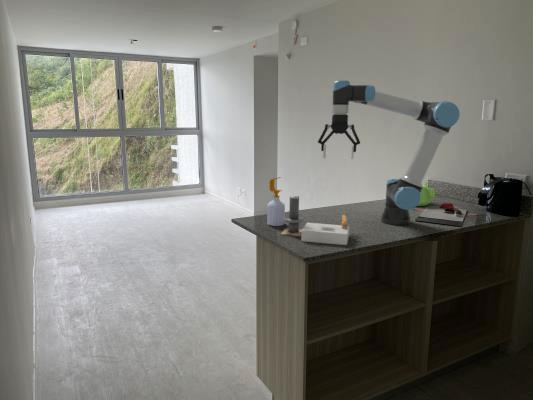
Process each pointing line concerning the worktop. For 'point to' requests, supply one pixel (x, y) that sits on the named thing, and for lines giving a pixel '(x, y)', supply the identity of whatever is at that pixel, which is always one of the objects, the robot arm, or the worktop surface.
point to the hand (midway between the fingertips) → (338, 158)
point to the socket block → (325, 233)
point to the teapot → (426, 195)
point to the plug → (294, 215)
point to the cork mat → (291, 233)
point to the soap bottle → (275, 208)
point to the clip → (344, 220)
